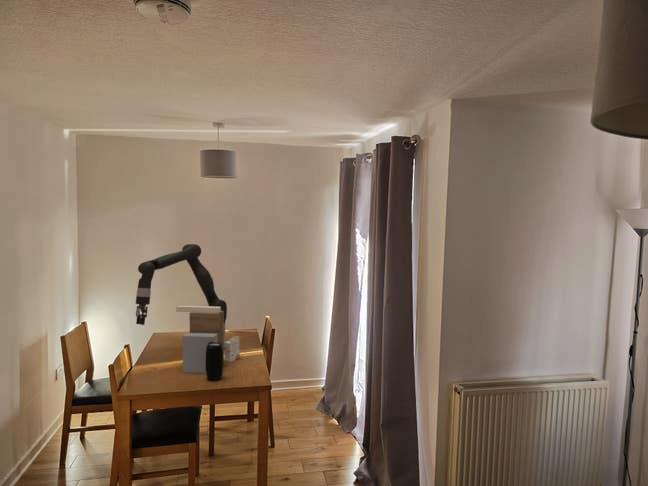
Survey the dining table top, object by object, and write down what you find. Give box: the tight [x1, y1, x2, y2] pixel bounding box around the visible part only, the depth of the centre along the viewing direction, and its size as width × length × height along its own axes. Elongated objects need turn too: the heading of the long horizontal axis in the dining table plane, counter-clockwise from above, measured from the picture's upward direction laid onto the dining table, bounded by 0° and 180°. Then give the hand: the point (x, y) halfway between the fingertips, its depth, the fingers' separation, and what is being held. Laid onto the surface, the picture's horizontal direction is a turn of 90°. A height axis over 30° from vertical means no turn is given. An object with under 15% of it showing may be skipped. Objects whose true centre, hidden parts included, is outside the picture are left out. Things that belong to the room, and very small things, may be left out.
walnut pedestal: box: [189, 311, 225, 364], centre depth 257 cm, size 8×18×32 cm, turn 85°
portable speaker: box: [205, 342, 224, 382], centre depth 235 cm, size 9×9×20 cm
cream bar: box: [175, 305, 221, 313], centre depth 256 cm, size 4×26×3 cm, turn 85°
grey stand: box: [182, 332, 218, 374], centre depth 247 cm, size 7×18×21 cm, turn 85°
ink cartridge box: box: [224, 335, 240, 363], centre depth 267 cm, size 9×5×15 cm, turn 148°
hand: (140, 324), depth 248 cm, fingers open, 8 cm apart
